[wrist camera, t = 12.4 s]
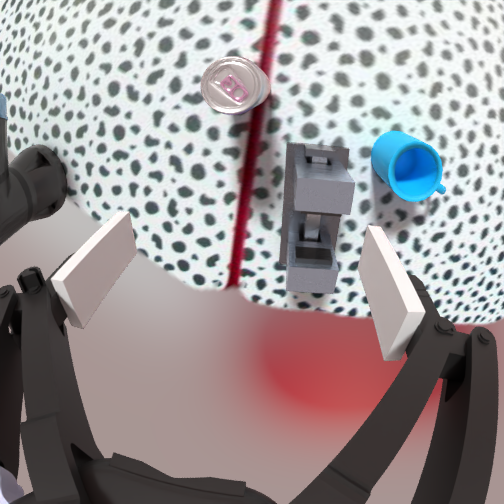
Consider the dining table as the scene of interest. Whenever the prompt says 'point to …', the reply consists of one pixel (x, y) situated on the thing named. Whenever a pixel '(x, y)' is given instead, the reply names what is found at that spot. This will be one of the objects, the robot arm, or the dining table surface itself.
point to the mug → (407, 166)
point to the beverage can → (234, 85)
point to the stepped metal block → (311, 265)
